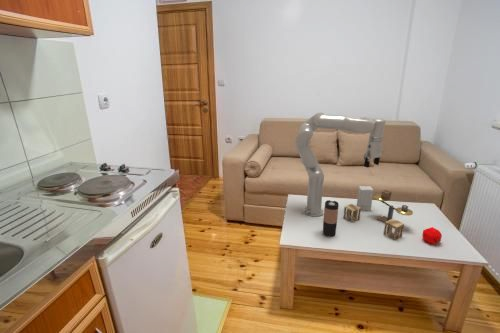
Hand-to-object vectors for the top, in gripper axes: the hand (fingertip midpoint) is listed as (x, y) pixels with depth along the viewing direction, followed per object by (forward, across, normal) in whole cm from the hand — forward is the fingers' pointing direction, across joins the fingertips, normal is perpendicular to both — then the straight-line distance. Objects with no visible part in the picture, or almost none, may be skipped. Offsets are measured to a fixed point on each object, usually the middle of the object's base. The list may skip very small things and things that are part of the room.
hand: (371, 165), depth 179 cm
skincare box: (+34, +7, +5) cm, 35 cm away
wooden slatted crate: (+34, -12, 0) cm, 36 cm away
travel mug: (+35, -37, -4) cm, 51 cm away
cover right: (+34, -8, -26) cm, 43 cm away
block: (+20, +4, -11) cm, 23 cm away
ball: (+34, +4, -41) cm, 53 cm away
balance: (+34, +4, -16) cm, 38 cm away
